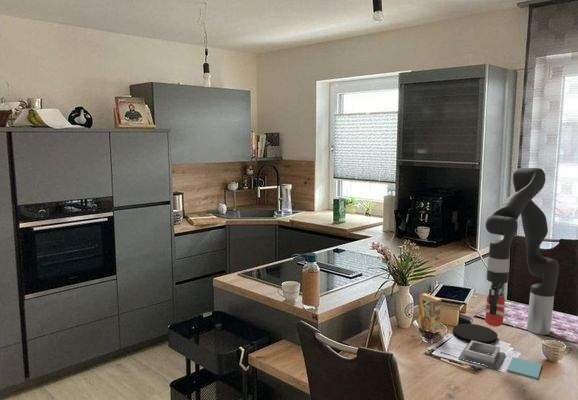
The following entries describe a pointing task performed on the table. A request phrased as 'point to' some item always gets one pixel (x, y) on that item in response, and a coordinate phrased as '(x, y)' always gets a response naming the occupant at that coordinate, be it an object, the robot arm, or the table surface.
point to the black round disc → (474, 333)
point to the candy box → (429, 312)
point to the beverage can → (498, 318)
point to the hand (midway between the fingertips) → (494, 311)
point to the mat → (524, 368)
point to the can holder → (481, 358)
